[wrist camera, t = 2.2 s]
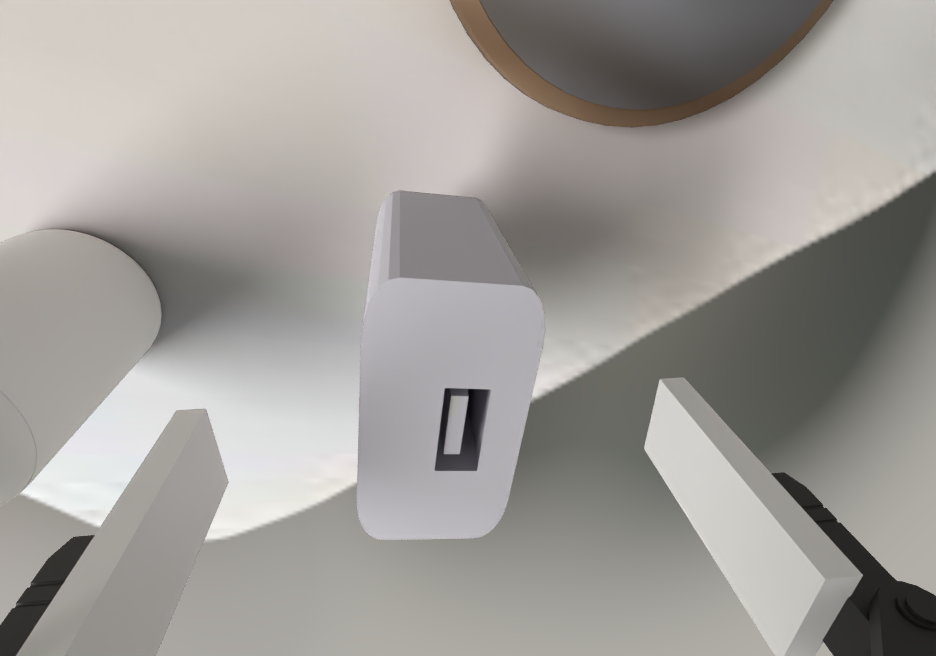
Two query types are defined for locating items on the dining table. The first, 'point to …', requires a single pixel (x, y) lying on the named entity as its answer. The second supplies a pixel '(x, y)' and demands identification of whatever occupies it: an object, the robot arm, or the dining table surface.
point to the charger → (442, 370)
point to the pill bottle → (63, 341)
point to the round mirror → (635, 51)
